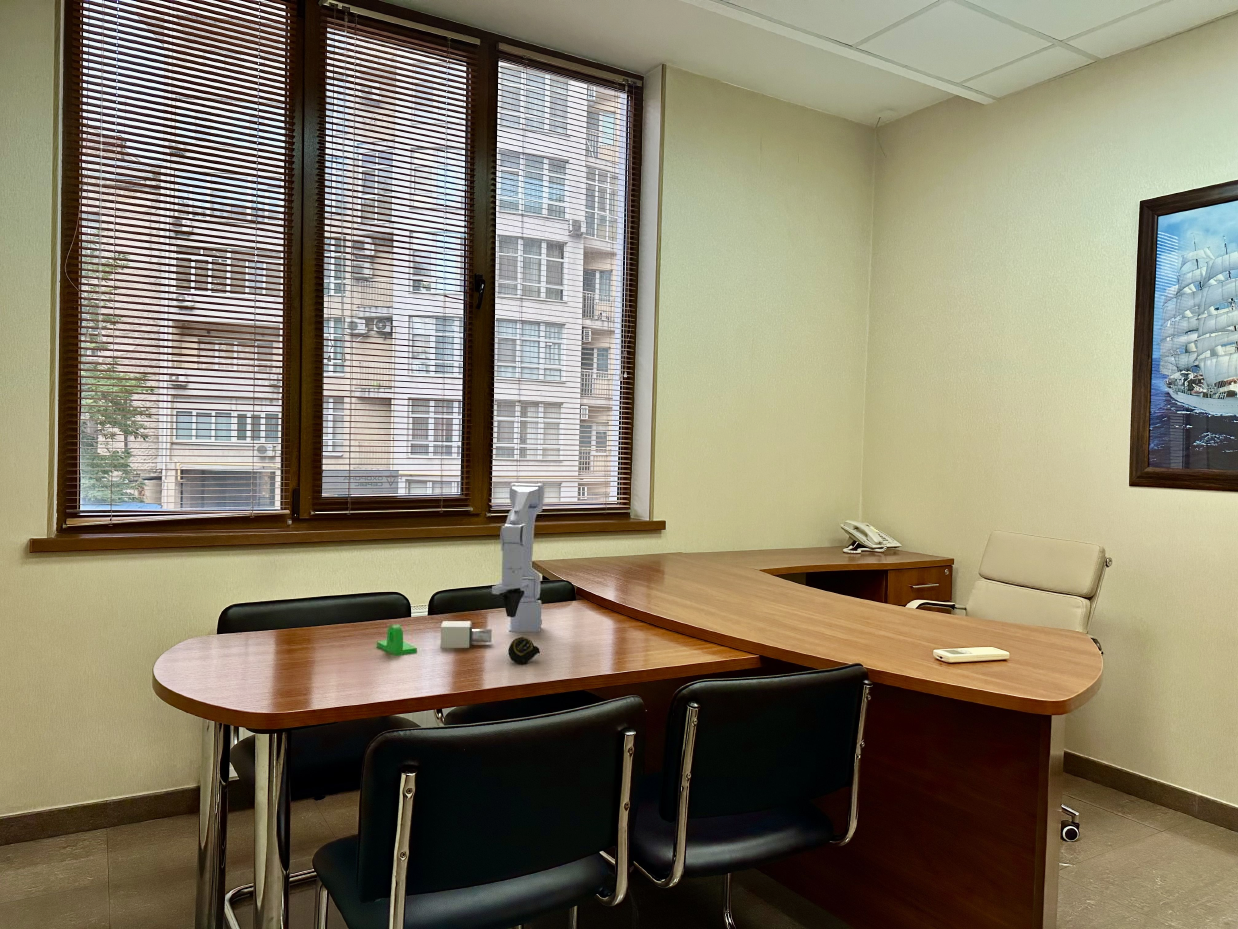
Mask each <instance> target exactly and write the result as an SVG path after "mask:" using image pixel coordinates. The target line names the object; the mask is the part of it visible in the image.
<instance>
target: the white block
mask: <svg viewBox="0 0 1238 929" xmlns="http://www.w3.org/2000/svg"><path fill="white" fill-rule="evenodd" d="M440 626H441V627H440V649H467V648H468V649H469V648H471V647H472V643H471V629H473V622H471V621H470V620H466V621H465V620H464V621H462V620H457V621H456V620H455V621H454V620H450V621H447V620H446V621H445V620H443V621H442V623H441V625H440Z"/></svg>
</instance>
